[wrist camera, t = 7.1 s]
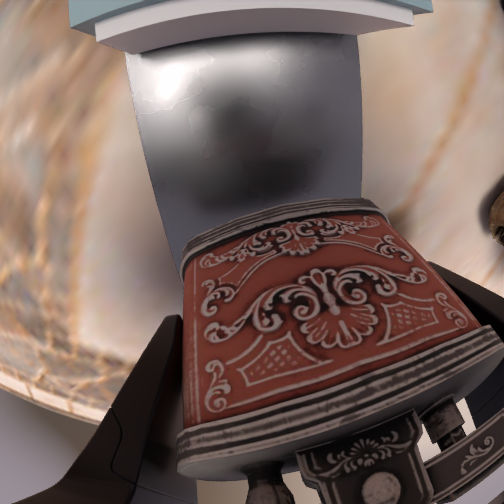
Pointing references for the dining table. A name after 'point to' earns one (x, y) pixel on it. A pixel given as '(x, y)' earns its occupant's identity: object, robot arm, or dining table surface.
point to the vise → (247, 125)
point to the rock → (497, 219)
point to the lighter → (329, 361)
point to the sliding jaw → (231, 18)
